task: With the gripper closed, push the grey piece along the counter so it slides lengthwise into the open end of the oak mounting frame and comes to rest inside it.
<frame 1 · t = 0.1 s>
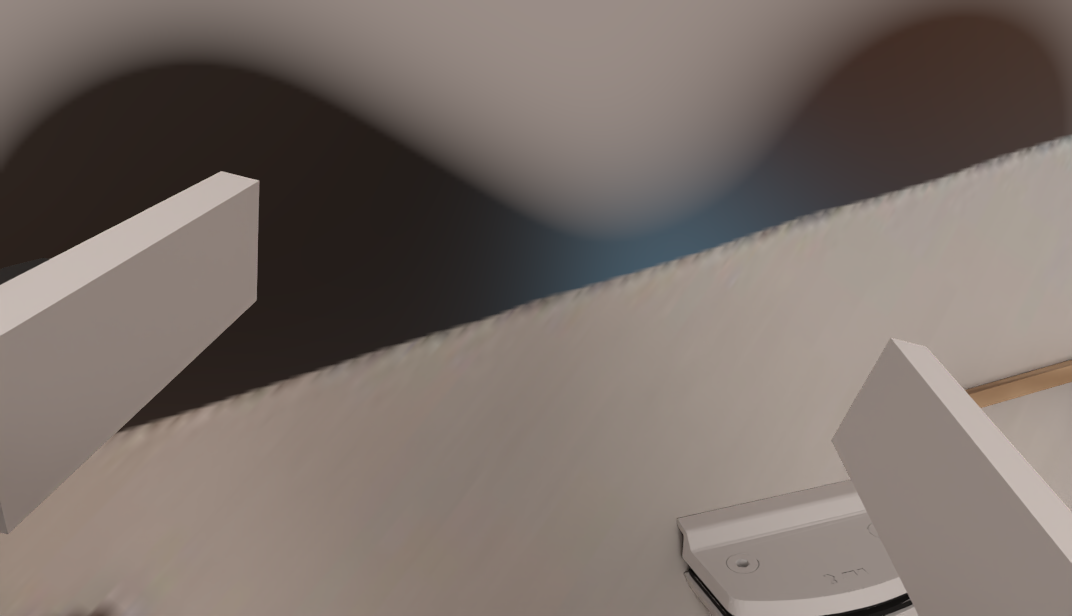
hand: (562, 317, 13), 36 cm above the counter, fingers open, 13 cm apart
mounting frame: (1003, 482, 50), on the counter
grey piece: (787, 546, 49), on the counter
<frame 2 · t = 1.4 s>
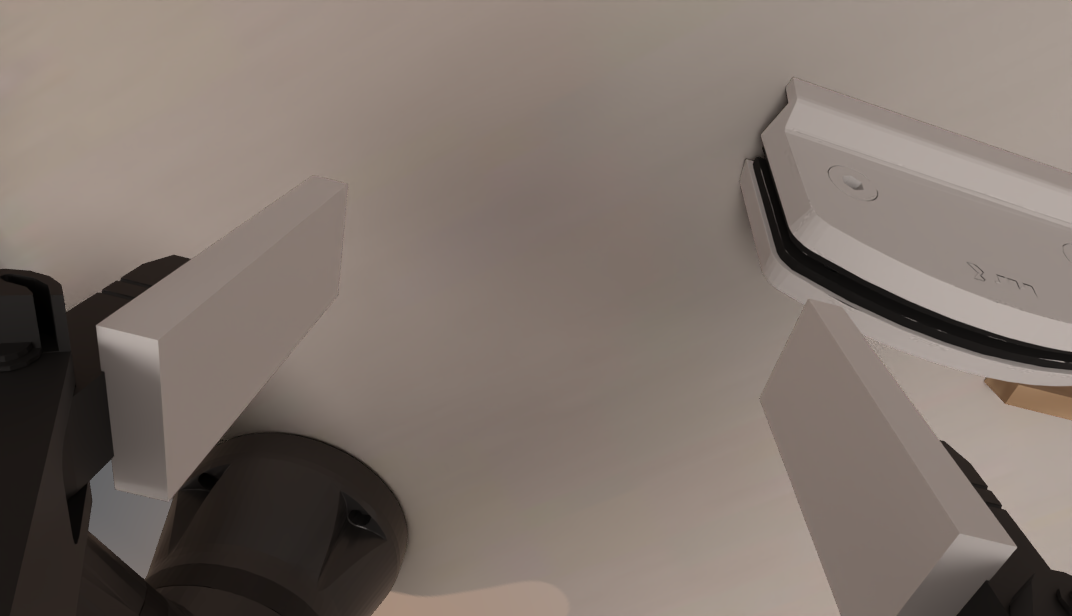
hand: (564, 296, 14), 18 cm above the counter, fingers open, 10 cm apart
grey piece: (906, 210, 31), on the counter
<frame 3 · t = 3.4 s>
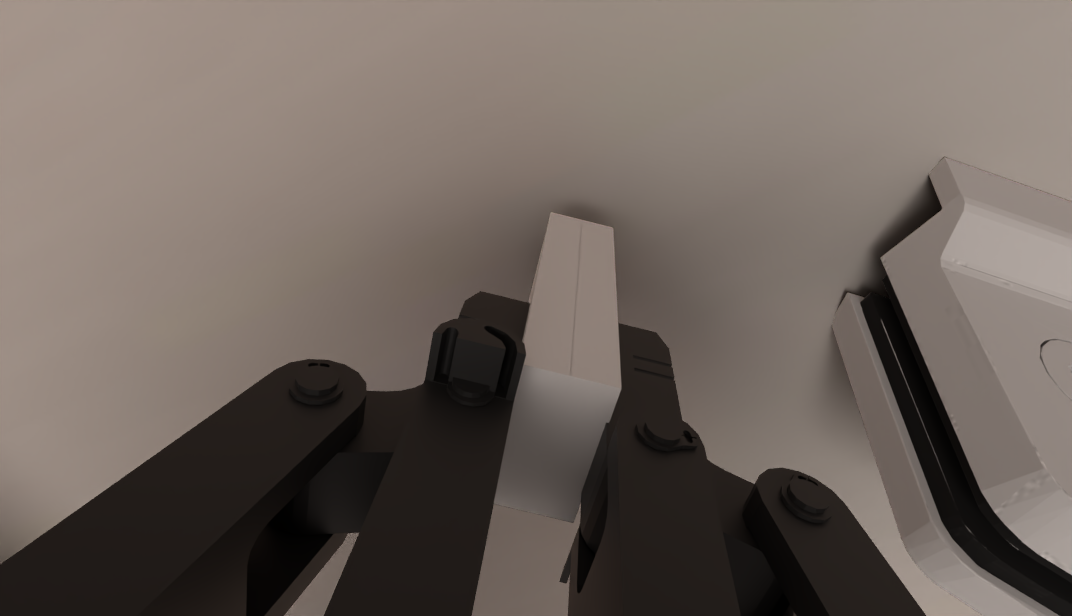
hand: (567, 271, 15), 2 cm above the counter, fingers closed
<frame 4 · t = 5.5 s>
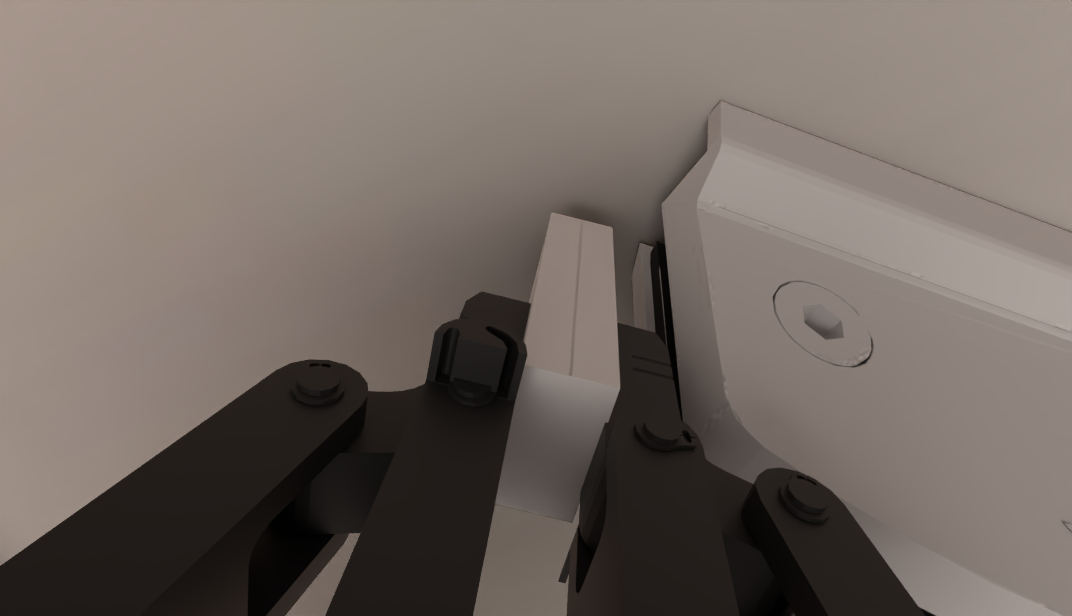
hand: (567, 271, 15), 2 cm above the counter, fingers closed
grey piece: (919, 334, 18), on the counter, touching gripper
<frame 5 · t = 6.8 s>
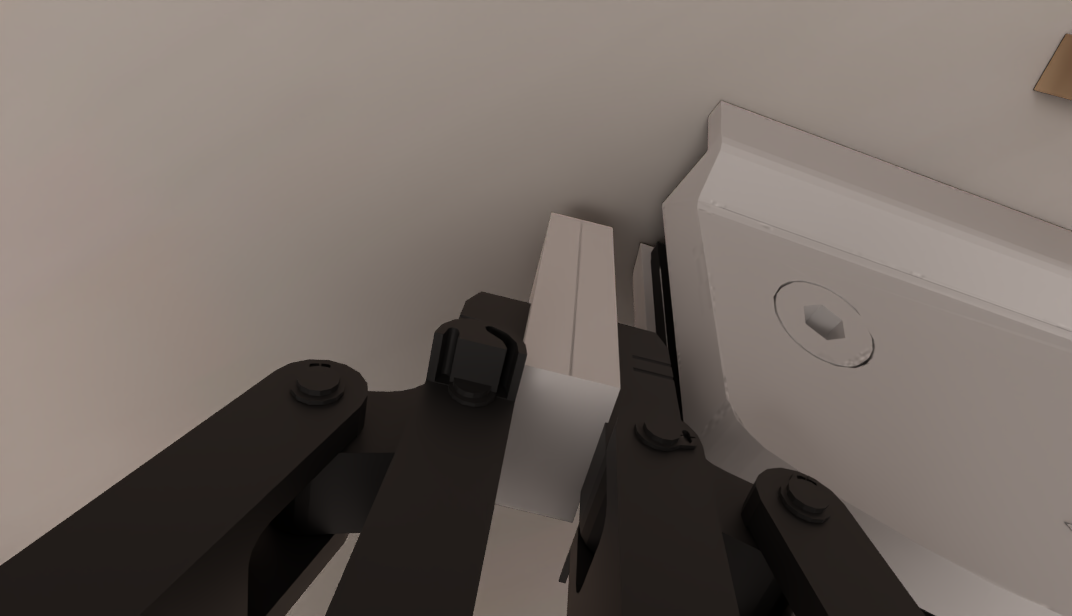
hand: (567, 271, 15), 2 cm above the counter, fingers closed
grey piece: (920, 334, 18), on the counter, touching gripper
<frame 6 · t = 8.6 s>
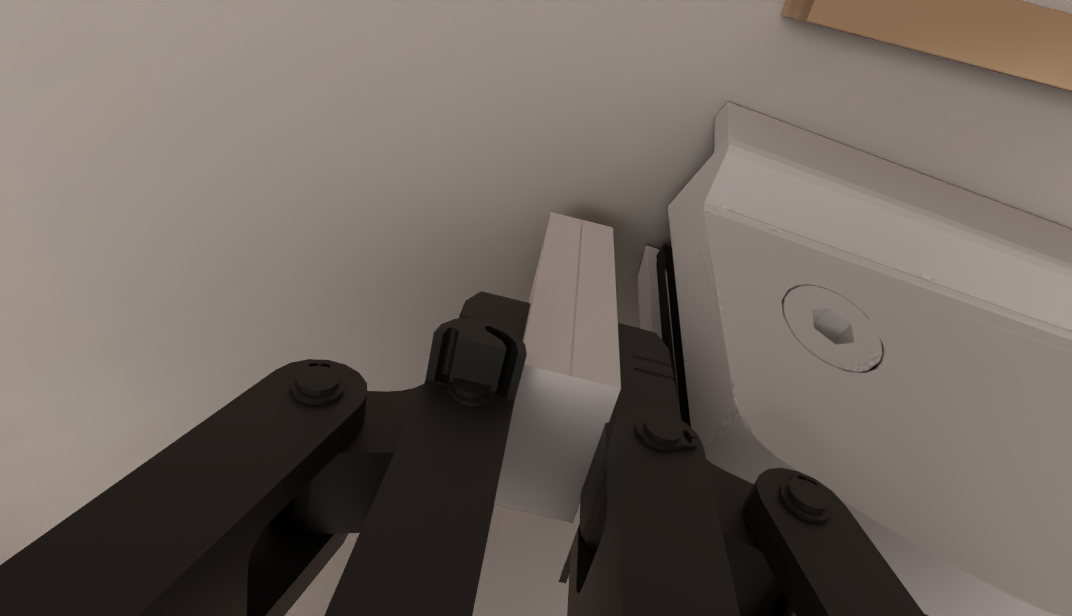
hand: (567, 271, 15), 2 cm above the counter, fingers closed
mounting frame: (1040, 361, 17), on the counter
grey piece: (928, 337, 18), on the counter, touching gripper
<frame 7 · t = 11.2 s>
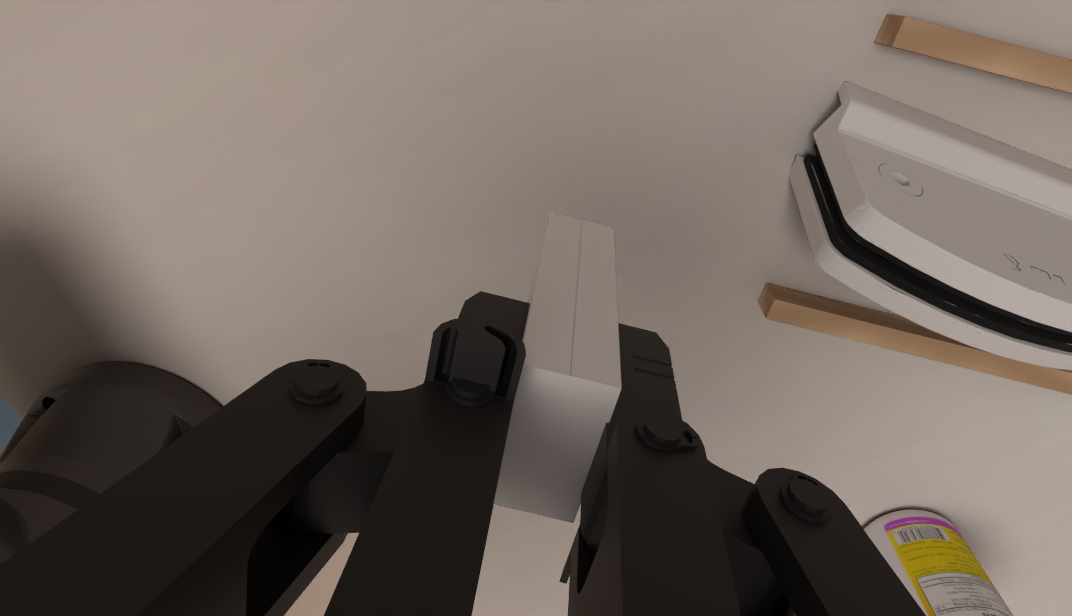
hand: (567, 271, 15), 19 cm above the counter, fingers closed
mounting frame: (1002, 221, 33), on the counter
grey piece: (940, 208, 33), on the counter
supplement bottle: (902, 538, 43), on the counter
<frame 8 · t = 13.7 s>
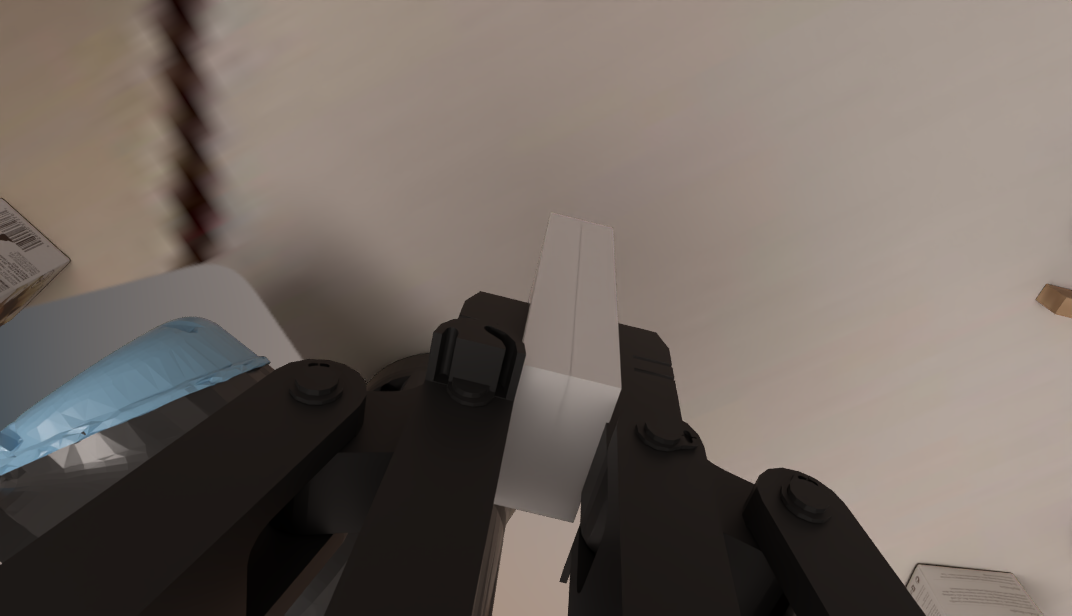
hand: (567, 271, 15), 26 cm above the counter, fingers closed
skincare box: (952, 588, 55), on the counter
coffee box: (9, 260, 48), on the counter
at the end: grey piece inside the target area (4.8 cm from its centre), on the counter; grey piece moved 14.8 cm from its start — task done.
